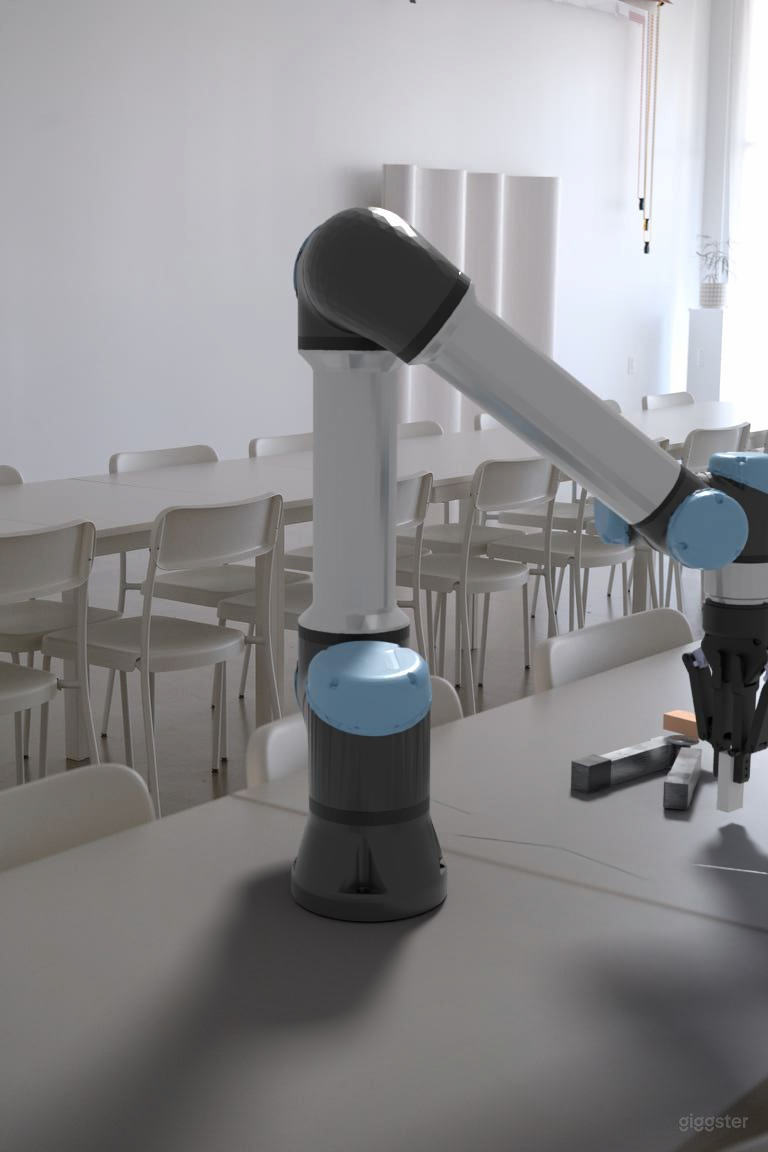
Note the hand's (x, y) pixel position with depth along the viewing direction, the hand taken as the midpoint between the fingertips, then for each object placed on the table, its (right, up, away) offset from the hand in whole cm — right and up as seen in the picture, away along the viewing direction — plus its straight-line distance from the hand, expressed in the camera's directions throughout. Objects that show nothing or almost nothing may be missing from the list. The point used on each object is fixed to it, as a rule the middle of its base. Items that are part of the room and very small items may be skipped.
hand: (729, 808), depth 152 cm
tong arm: (-3, +1, +13) cm, 13 cm away
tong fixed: (-8, +1, +16) cm, 18 cm away
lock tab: (0, +6, +21) cm, 22 cm away
